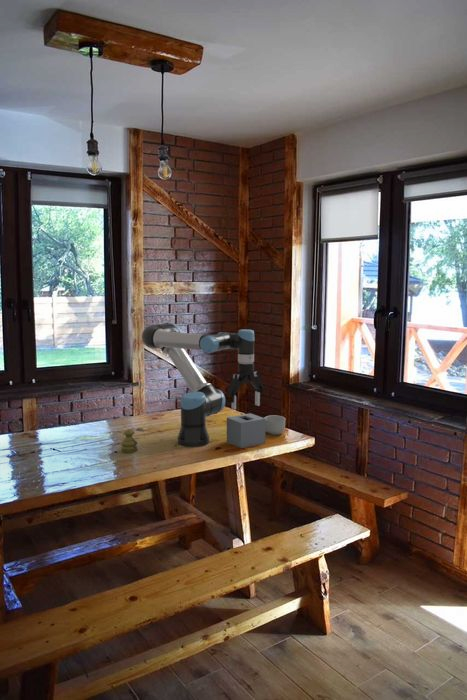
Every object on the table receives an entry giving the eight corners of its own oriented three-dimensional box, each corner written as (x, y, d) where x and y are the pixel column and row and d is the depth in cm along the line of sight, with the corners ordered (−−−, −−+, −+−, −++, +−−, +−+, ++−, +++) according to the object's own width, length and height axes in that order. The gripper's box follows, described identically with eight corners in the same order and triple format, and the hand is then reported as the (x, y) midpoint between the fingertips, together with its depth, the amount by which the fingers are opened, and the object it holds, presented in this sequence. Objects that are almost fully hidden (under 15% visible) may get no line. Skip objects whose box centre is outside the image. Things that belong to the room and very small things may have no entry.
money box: (240, 448, 268) (241, 423, 266) (226, 441, 278) (226, 417, 276) (265, 443, 275) (265, 418, 274) (250, 437, 285) (250, 413, 284)
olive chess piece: (119, 449, 266) (119, 428, 264) (135, 447, 268) (135, 426, 267) (122, 454, 259) (121, 432, 257) (139, 452, 261) (138, 431, 260)
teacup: (285, 430, 297) (285, 415, 296) (285, 436, 286) (285, 421, 285) (258, 429, 298) (258, 414, 297) (257, 435, 287) (257, 420, 286)
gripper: (228, 366, 261) (228, 412, 264) (272, 361, 275) (271, 405, 278) (219, 364, 267) (219, 408, 270) (262, 359, 281) (262, 402, 284)
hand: (245, 407), depth 274 cm, fingers open, 13 cm apart
